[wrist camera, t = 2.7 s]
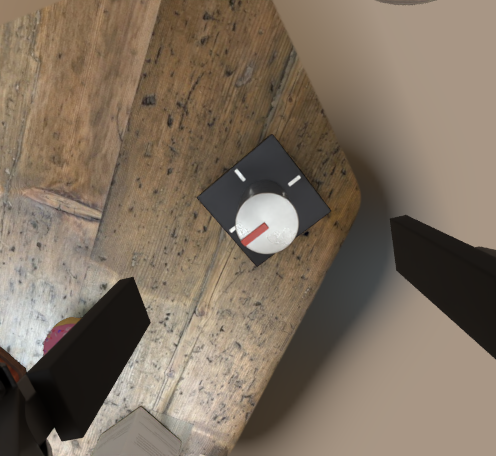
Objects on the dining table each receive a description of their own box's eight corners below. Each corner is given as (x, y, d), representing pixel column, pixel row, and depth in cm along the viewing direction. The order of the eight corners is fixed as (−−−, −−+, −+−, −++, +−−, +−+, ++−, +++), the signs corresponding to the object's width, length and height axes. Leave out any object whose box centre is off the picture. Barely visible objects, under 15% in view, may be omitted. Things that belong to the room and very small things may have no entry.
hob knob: (268, 170, 30) (272, 179, 22) (298, 208, 31) (312, 229, 23) (230, 201, 31) (221, 220, 23) (260, 236, 32) (262, 267, 24)
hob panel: (270, 134, 33) (272, 133, 29) (323, 204, 35) (332, 211, 31) (202, 191, 35) (195, 197, 31) (256, 254, 37) (256, 267, 33)
